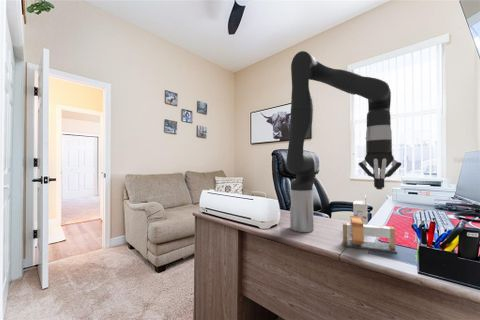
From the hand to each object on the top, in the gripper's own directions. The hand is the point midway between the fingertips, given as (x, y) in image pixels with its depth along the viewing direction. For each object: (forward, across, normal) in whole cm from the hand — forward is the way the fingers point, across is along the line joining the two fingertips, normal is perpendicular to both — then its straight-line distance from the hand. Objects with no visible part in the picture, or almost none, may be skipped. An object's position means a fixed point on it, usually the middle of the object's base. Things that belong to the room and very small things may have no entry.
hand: (379, 189), depth 73 cm
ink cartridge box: (+20, -4, +16) cm, 26 cm away
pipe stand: (+19, -4, -4) cm, 20 cm away
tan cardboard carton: (+17, -7, -4) cm, 19 cm away
